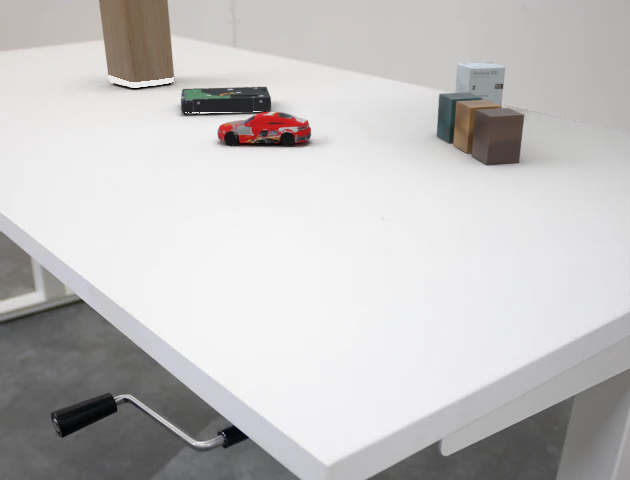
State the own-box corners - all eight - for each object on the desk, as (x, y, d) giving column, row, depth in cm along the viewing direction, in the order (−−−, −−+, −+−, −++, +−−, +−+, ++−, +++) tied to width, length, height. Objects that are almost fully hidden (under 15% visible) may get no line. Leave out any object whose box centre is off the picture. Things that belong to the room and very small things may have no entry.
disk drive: (266, 102, 134) (182, 104, 132) (266, 86, 133) (181, 87, 131) (272, 113, 125) (181, 115, 123) (271, 96, 124) (180, 98, 122)
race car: (214, 146, 105) (212, 117, 103) (222, 137, 110) (220, 109, 108) (308, 147, 104) (308, 117, 102) (312, 138, 108) (312, 110, 107)
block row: (519, 162, 96) (524, 114, 93) (486, 165, 95) (491, 116, 92) (465, 134, 110) (468, 92, 107) (436, 136, 109) (439, 93, 107)
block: (107, 84, 152) (93, -25, 143) (150, 78, 158) (140, -26, 149) (132, 90, 145) (120, -24, 137) (176, 84, 151) (167, -25, 143)
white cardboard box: (466, 115, 122) (470, 67, 119) (453, 108, 128) (456, 62, 124) (501, 113, 123) (506, 66, 120) (486, 106, 129) (491, 61, 125)
